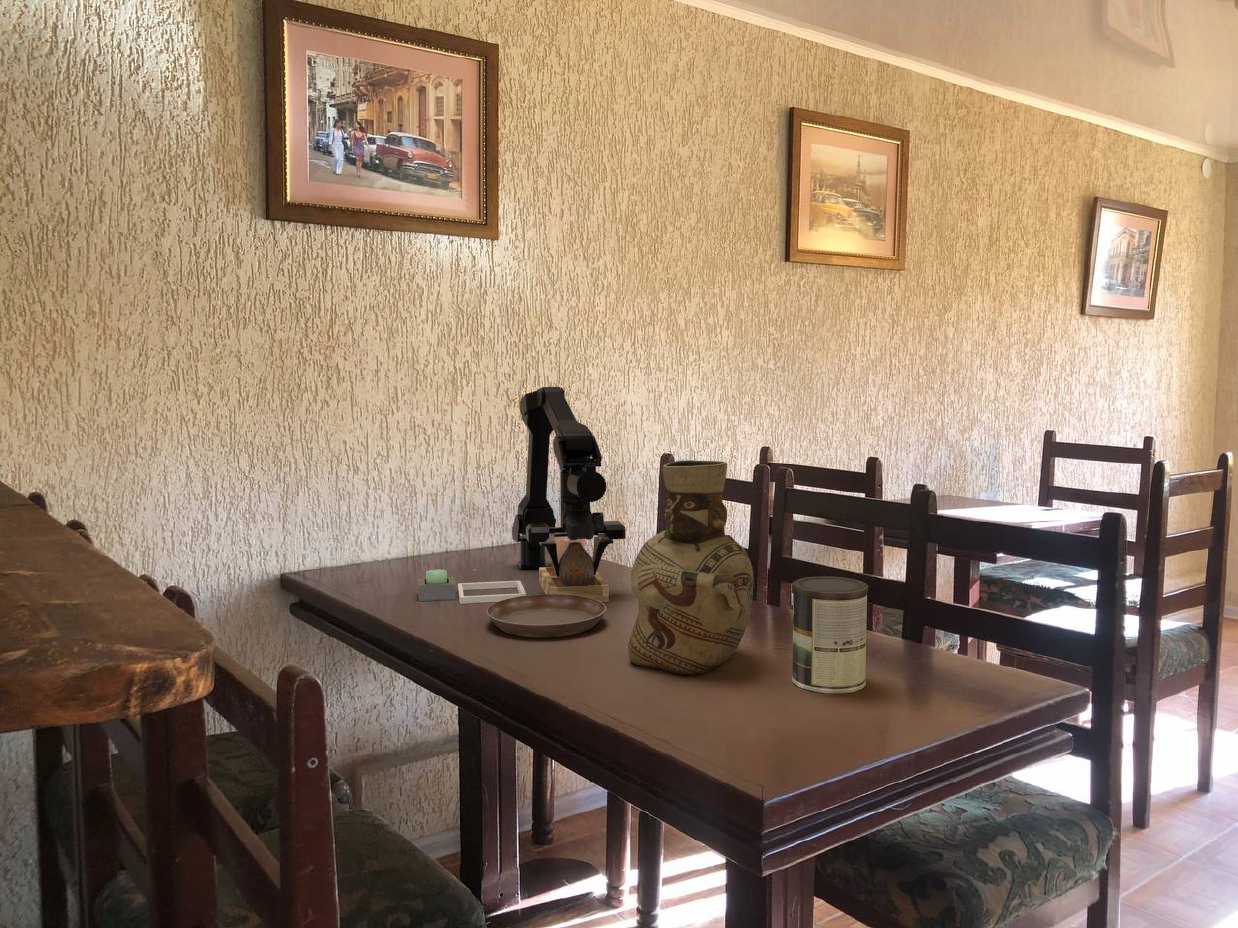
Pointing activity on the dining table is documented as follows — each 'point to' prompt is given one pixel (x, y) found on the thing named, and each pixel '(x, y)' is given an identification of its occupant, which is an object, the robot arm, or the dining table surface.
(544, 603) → the plant saucer
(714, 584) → the ceramic vessel
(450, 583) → the button housing
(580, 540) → the block
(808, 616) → the coffee can
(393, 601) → the dining table surface
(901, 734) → the dining table surface
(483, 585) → the white square frame
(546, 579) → the pallet
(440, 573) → the button
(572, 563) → the vase
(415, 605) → the dining table surface
